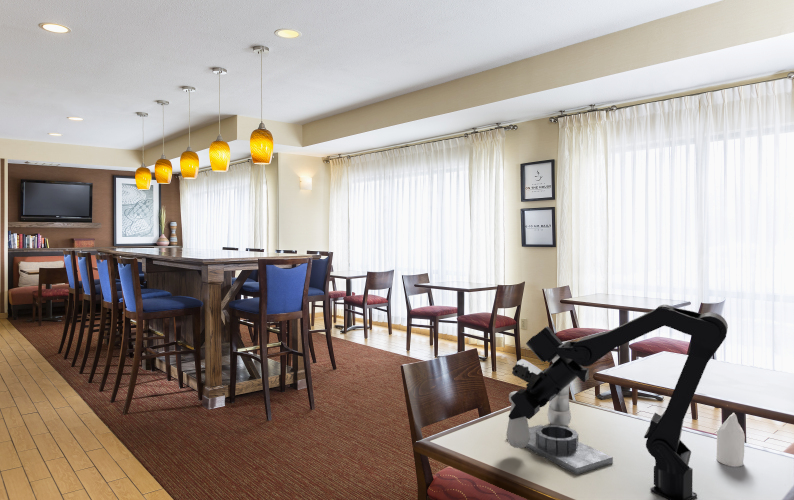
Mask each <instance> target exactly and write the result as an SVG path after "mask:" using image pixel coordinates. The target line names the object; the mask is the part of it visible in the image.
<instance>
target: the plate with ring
mask: <svg viewBox="0 0 794 500" xmlns="http://www.w3.org/2000/svg"><path fill="white" fill-rule="evenodd" d="M529 432H530V440H529V443H528V445H527V446H526V447H524V448H525V449H527V450H529V451H531V452H532V453H533V454H536V455H538V456H541V457H542V458H544V459H545V460H548V461H550V462H551V463H553V464H556V465H557V466H559V467H561V468H563V469H565V470H567V471H568V472H571V474H572V473H573V474H575V475H580V474H583V473H586V472H589V471H593V470H595V469H596V470H597V469H600V468H602V467H605V466H609V465H612V464H614V457H613V456H612V455H609V454H607V453H604V452H602V451H600V450H599V449H597V448H594V447H591V446H589V445H587V444H585V443H582V442H580V441H579V433H578V432H577V431H576V429H573V428H570V427H568V426H566V427H564V426H559V425H557V426H556V425H551V424H546V425H543V424H538V425H534V426H529Z"/></svg>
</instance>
